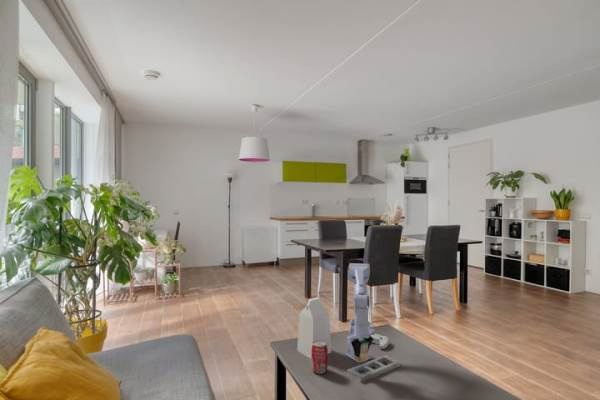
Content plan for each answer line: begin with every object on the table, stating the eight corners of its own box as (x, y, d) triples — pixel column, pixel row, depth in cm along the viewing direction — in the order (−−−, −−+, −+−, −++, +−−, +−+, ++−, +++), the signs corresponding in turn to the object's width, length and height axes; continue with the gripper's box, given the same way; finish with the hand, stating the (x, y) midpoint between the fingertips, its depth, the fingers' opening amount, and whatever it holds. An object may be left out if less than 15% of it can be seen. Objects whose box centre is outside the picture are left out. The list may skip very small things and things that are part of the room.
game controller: (357, 338, 176) (366, 328, 184) (358, 345, 177) (367, 335, 185) (384, 345, 168) (392, 334, 175) (384, 353, 168) (392, 342, 176)
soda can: (318, 365, 154) (319, 338, 154) (330, 370, 149) (331, 343, 149) (308, 370, 149) (308, 343, 149) (320, 376, 144) (320, 348, 144)
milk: (312, 359, 159) (312, 304, 158) (297, 350, 168) (297, 298, 167) (331, 352, 166) (331, 299, 166) (315, 344, 175) (315, 294, 175)
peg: (353, 358, 146) (353, 340, 145) (361, 356, 148) (361, 338, 148) (360, 362, 142) (361, 344, 142) (368, 360, 144) (368, 341, 144)
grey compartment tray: (347, 374, 146) (347, 369, 146) (385, 359, 159) (385, 355, 159) (360, 382, 139) (360, 377, 139) (399, 366, 153) (399, 361, 153)
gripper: (355, 329, 137) (355, 363, 138) (380, 322, 145) (380, 353, 146) (343, 324, 143) (343, 356, 143) (368, 317, 151) (368, 347, 152)
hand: (361, 354), depth 145 cm, fingers closed on peg, 4 cm apart
